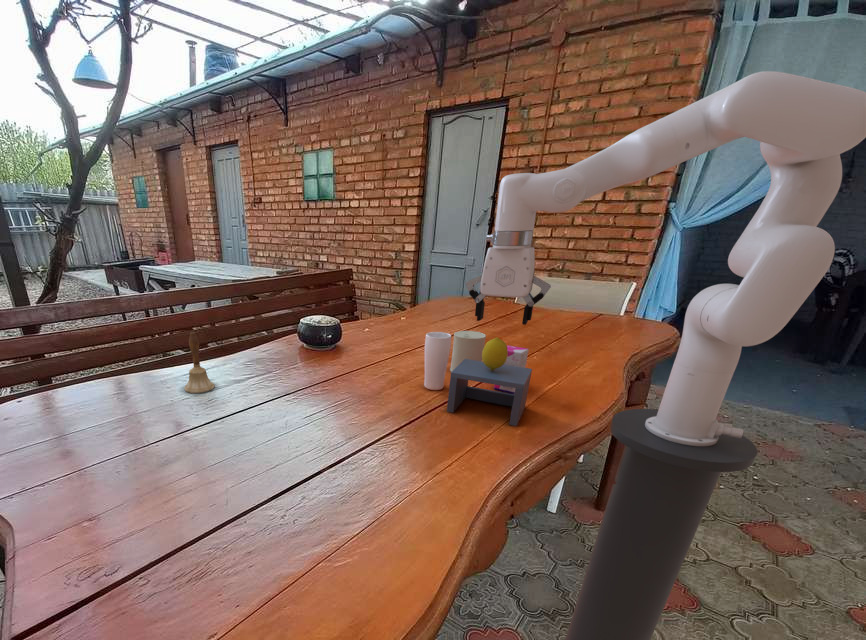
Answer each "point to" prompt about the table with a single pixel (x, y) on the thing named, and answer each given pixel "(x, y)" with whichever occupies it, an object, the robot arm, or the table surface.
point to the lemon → (494, 353)
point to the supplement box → (514, 364)
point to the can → (467, 347)
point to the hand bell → (197, 370)
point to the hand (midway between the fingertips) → (501, 321)
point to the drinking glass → (436, 359)
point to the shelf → (499, 376)
